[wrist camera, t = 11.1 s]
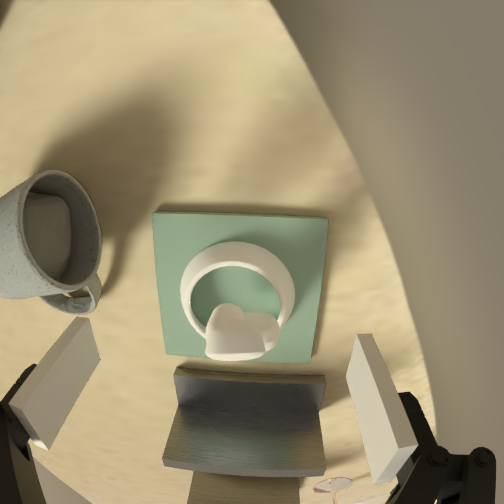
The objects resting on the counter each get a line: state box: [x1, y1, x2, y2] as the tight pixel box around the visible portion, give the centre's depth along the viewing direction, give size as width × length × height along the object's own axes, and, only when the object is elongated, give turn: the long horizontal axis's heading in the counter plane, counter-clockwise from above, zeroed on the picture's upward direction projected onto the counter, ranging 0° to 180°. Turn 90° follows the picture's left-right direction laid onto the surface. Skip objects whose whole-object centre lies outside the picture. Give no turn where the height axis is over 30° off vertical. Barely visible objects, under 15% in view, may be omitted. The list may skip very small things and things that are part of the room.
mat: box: [152, 211, 329, 363], centre depth 21 cm, size 11×11×1 cm
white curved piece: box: [180, 241, 295, 361], centre depth 17 cm, size 8×12×7 cm
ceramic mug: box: [0, 170, 102, 315], centre depth 18 cm, size 11×8×8 cm
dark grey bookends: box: [162, 367, 326, 504], centre depth 24 cm, size 21×12×7 cm, turn 178°
